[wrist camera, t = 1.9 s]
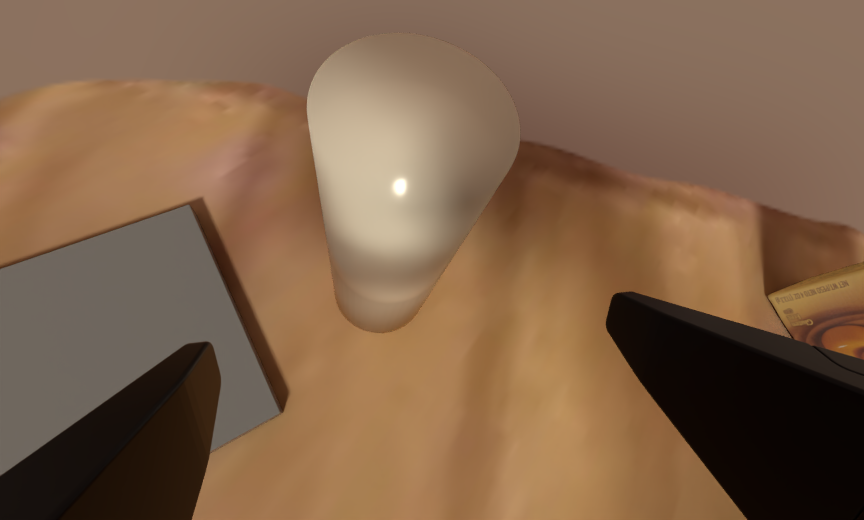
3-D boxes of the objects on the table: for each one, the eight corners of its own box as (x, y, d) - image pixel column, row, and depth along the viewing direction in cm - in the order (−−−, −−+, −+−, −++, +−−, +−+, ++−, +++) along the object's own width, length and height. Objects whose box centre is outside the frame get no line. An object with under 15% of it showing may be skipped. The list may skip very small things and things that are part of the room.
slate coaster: (283, 412, 17) (280, 412, 17) (-24, 582, 14) (-45, 592, 13) (195, 212, 20) (189, 204, 19) (-84, 309, 16) (-105, 304, 15)
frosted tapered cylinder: (434, 263, 21) (536, 75, 9) (409, 344, 20) (497, 238, 8) (353, 236, 21) (353, 6, 9) (320, 316, 19) (267, 159, 7)
